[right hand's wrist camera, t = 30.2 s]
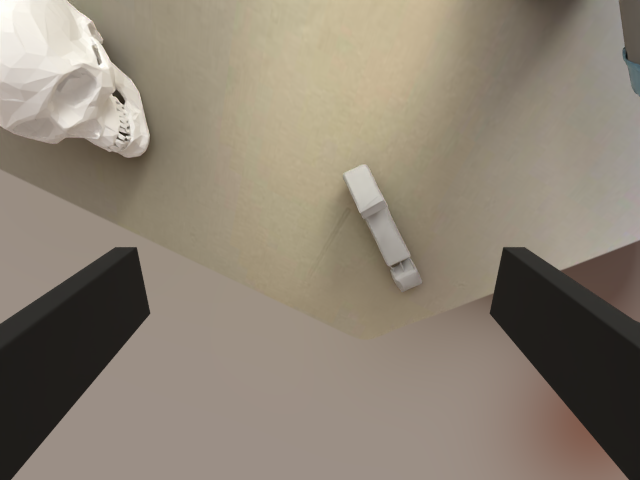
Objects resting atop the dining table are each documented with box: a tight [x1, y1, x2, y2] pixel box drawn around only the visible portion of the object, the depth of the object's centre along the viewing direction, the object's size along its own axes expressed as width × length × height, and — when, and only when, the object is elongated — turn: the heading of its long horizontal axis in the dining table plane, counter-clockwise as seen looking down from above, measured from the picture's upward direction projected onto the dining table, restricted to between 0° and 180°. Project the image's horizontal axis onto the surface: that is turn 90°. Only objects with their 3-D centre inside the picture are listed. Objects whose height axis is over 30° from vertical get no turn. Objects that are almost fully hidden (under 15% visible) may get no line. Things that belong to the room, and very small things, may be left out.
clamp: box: [343, 164, 422, 292], centre depth 47 cm, size 20×4×7 cm, turn 28°
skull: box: [0, 0, 150, 158], centre depth 36 cm, size 13×22×16 cm, turn 39°
